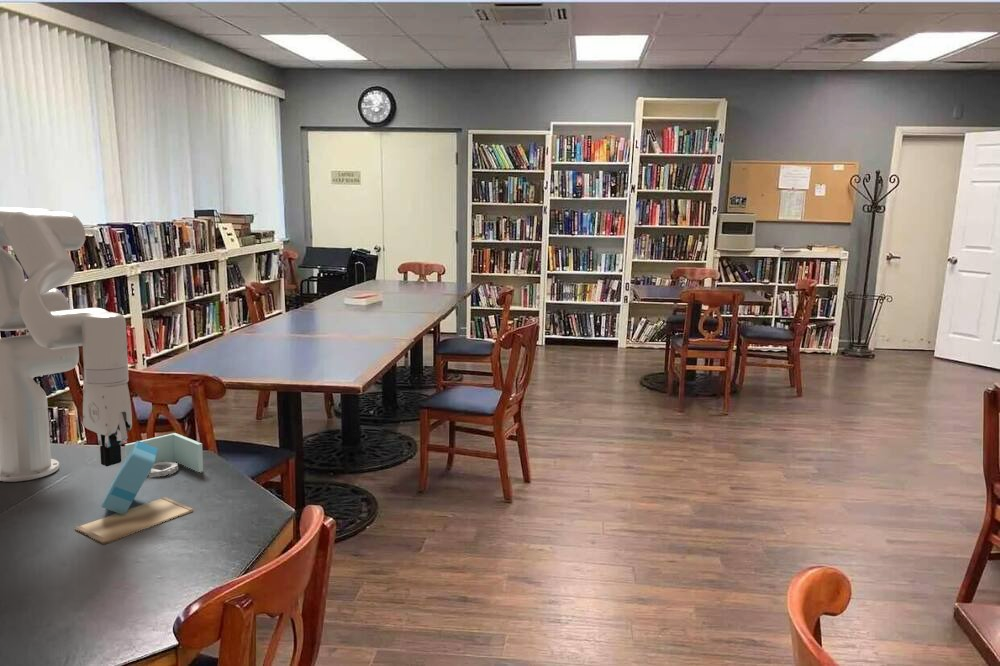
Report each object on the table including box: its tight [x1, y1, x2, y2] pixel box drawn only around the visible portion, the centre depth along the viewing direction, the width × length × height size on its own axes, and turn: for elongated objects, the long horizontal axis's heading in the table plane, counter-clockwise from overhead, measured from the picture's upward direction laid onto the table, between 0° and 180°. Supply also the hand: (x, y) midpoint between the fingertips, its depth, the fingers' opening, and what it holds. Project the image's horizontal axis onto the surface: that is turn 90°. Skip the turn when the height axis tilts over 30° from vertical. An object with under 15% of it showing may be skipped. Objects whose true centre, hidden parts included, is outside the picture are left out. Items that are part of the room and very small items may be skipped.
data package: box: [101, 440, 158, 515], centre depth 136 cm, size 12×4×12 cm
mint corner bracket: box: [124, 432, 204, 478], centre depth 155 cm, size 12×12×8 cm
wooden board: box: [74, 496, 194, 545], centre depth 131 cm, size 10×18×1 cm, turn 148°
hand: (111, 463), depth 134 cm, fingers closed
